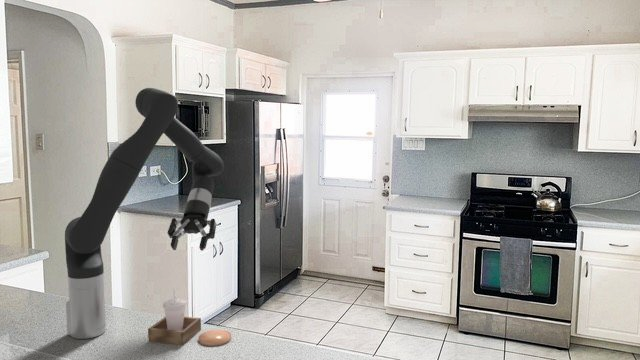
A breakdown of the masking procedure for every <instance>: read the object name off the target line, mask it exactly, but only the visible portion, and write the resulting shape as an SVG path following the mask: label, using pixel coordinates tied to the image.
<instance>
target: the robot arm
mask: <svg viewBox="0 0 640 360" xmlns="http://www.w3.org/2000/svg"><path fill="white" fill-rule="evenodd" d="M134 104H135V108H136V110H137V112H138V113H139V114H140V115H141V116H142V117H143V118H144V119H143V121H142V123H141V124H140V126H139V128H138V129H137V130H136V131H135V132H134V133H133V134H132V135H130V136H129V137H128V138H127V139H125V140H124V141H123V142H122V143H120V144H119V145H118V146H117V147H116V148H115V149H114V150H113V151H112V152H111V154H110V156H109V157H108V159H107V161H106V162H105V165H104V166H103V168H102V169H101V172H100V175H99V177H98V179H97V182H96V185H95V189H94V191H93V192H94V193H93V195H92V197H91V200H90V202H89V204H88V205H87V206H86V208H85V210H84V212H83V213H82V215H81V216H78V217H76V218H74V219H72V220H71V221H69V223H67V225H66V227H65V231H64V245H65V246H64V247H65V248H64V249H65V250H64V251H65V261H66V268H67V283H68V284H67V287H68V301H66V303H65V310H66V313H65V314H66V316H65V317H66V332H67V333H66V334H67V336H69V337H71V338H73V339H79V340H83V339H84V340H85V339H86V340H87V339H93V338H95V337H99V336H101V335H103V334H104V333H105V332H106V331H107V327H106V326H107V324H106V323H107V322H106V319H107V318H106V302H105V301H106V299H105V298H106V297H105V275H104V273H105V272H104V270H105V269H104V267H105V266H104V262H103V256H102V246H101V245H102V244H103V242H104V240H105V238H106V235H107V232H108V230H109V228H110V226H111V223H112V221H113V219H114V217H115V214H116V213H117V212H118V209H119V208H120V206H122V203H123V202H124V200H125V198H126V197H127V196H128V194H129V192H130V190H131V188H132V187H133V186H134V184H135V182H136V181H137V179H138V176H139V174H140V173H141V172H142V169H143V167H144V165H145V163H146V162H147V160H148V158H149V157H150V156H151V153H152V152H153V150H154V148H155V146H156V144H157V143H158V142H159V140H160V139H161V137H162V136H163V134H164V135H165V136H166V137H167V138H168V139H169V140H170V141H171V142H172V144H174V146H175V147H176V148H177V150H179V152H181V154H182V155H183V156H184V157H185V158H186V159H187V161H189V162H191V163H192V164H191V172H192V173H191V174H192V184H191V188H190V192H189V194H188V197H187V201H186V204H185V207H184V211H183V216H182V218H181V219H176V218H175V217H174V218H172V219H171V221H170V223H169V227H168V230H167V233H166V234H167V235H168V237H169V239H171V242H170V248H171V249H172V250H173V251H176V250H177V248H178V244H179V239H180V238H181V237H184V236H186V234H187V235H189V234H199V233H200V235H201V238H200V242H199V249H200V251H204V250H205V249H206V248H207V243H208V241H209V240H213V239H215V236H216V235H215V234H216V229H217V222H216V219H215V218H211V219H210V220H209V219H208V218H209V214H210V208H211V207H212V204H211V203H212V196H213V192H214V187H215V181H214V180H213V179H212V178H211V177H216V176H220V175H221V174H222V173H223V172H224V169H225V164H224V161H223V159H222V158H221V157H220V156H219V154H218V153H216V152H215V151H213V150H212V149H210V148H208V147H207V146H205V144H203V142H202V141H201V140H200V139H199V138H198V136H197V134H195V133H194V132H193V131H192V130H191V129H190V128H188V127H187V126H186V125H185V124H183V123H182V122H181V121H180V120H178V119H177V118H176V114H177V112H178V108H179V102H178V99H177V97H176V96H175V95H174V94H173V93H171V92H168V91H165V90H162V89H158V88H153V87H145V88H143V89H141V90H140V91H139V92H138V93H137V95H136V96H135V103H134ZM207 226H208V227H209V231H208V232H206V231H205V228H206V227H207Z"/></svg>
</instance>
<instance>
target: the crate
mask: <svg viewBox="0 0 640 360" xmlns="http://www.w3.org/2000/svg"><path fill="white" fill-rule="evenodd" d="M200 331H202V318H201V317H195V316H194V317H192V316H184V322H183V331H177V330H168V329H167V322H166V316H164V317H162V318H161V319H160V320H159V321H157V322H156V323H155V324H153V325H151V326H150V327H149V328H148V329H147V337H148V338H147V341H148V342H152V343H162V344H172V345H173V344H174V345H181V346H182V345H183V346H184V345H185V344H187V343H188V342H189V341H190V340H191V339H193V337H194V336H196V335H197V334H198V333H199V332H200ZM195 334H196V335H195Z"/></svg>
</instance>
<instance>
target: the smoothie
mask: <svg viewBox="0 0 640 360" xmlns="http://www.w3.org/2000/svg"><path fill="white" fill-rule="evenodd" d="M172 289H173V290H172V291H173V293H172V294H173V298H171V299H168V300H167V299H166V300H164V301H163V303H162V308H163V309H164V315H165V316H166V322H167V330H177V331H183V330H184V329H183V322H184V317H185V313H186V306H187V301H186V299H183V298H176V287H173V288H172ZM165 316H164V317H165Z"/></svg>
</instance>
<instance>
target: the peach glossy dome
mask: <svg viewBox="0 0 640 360" xmlns="http://www.w3.org/2000/svg"><path fill="white" fill-rule="evenodd" d="M232 337H233V336H232V333H231V332H230V331H228V330H226V329H212V330H211V329H210V330H207V331H204V332H202V333H200V334H199V336H198V343H199V344H200V345H203V346H207V345H208V347H209V346H210V347H216V346H217V347H218V346H223V345H225V344H228V343H229V342H231V340H232Z"/></svg>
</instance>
